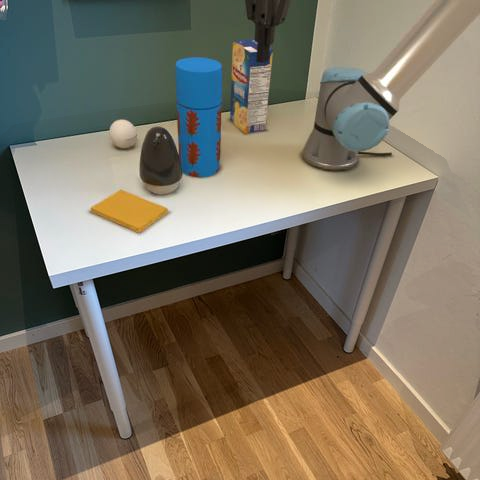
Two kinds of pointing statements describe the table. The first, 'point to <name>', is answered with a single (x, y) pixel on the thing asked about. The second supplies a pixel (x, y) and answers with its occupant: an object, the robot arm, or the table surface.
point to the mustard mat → (129, 210)
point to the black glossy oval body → (160, 162)
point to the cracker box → (249, 87)
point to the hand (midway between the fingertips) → (262, 60)
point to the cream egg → (123, 133)
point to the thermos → (199, 115)
